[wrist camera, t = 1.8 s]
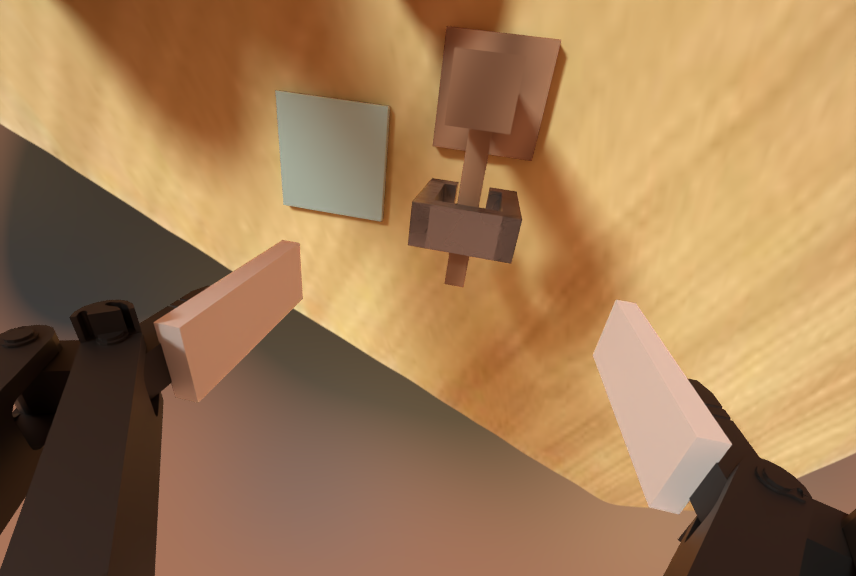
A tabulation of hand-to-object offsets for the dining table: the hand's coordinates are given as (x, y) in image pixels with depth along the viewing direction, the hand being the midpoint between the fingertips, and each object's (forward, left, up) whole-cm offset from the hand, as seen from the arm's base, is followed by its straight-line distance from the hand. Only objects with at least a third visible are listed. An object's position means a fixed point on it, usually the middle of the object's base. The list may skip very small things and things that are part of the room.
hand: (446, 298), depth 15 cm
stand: (0, +4, -27) cm, 27 cm away
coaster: (-16, 0, -27) cm, 31 cm away
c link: (0, 0, -17) cm, 17 cm away
